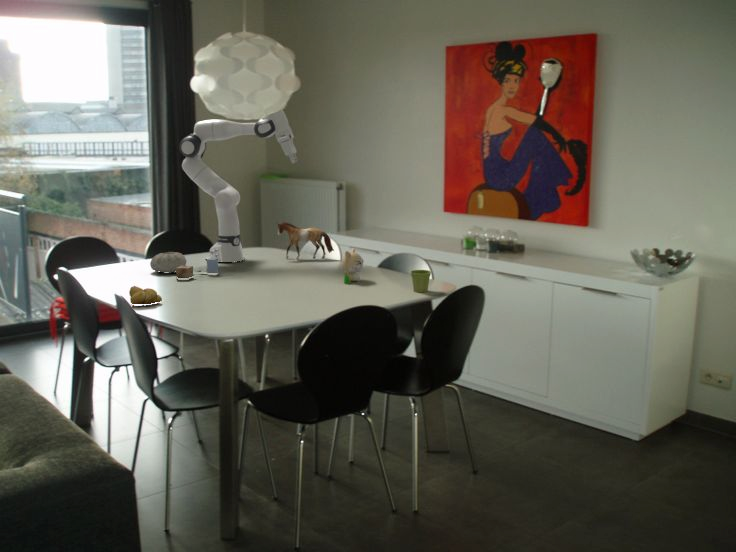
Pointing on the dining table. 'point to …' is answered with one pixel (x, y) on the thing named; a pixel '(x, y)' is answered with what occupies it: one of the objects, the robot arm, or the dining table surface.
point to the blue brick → (212, 265)
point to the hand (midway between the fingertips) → (294, 162)
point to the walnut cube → (184, 271)
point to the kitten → (352, 266)
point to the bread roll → (143, 296)
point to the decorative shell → (167, 261)
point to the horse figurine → (305, 237)
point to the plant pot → (420, 280)
